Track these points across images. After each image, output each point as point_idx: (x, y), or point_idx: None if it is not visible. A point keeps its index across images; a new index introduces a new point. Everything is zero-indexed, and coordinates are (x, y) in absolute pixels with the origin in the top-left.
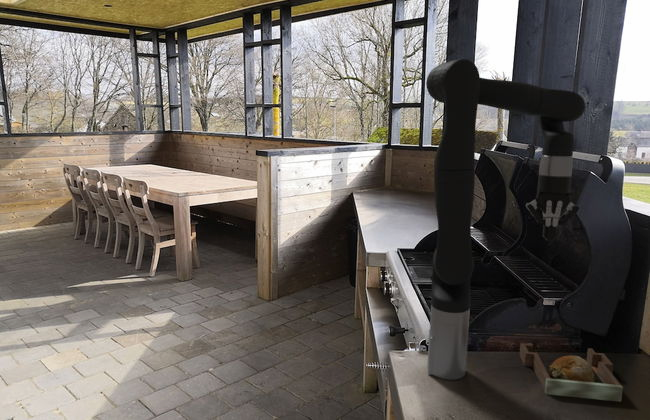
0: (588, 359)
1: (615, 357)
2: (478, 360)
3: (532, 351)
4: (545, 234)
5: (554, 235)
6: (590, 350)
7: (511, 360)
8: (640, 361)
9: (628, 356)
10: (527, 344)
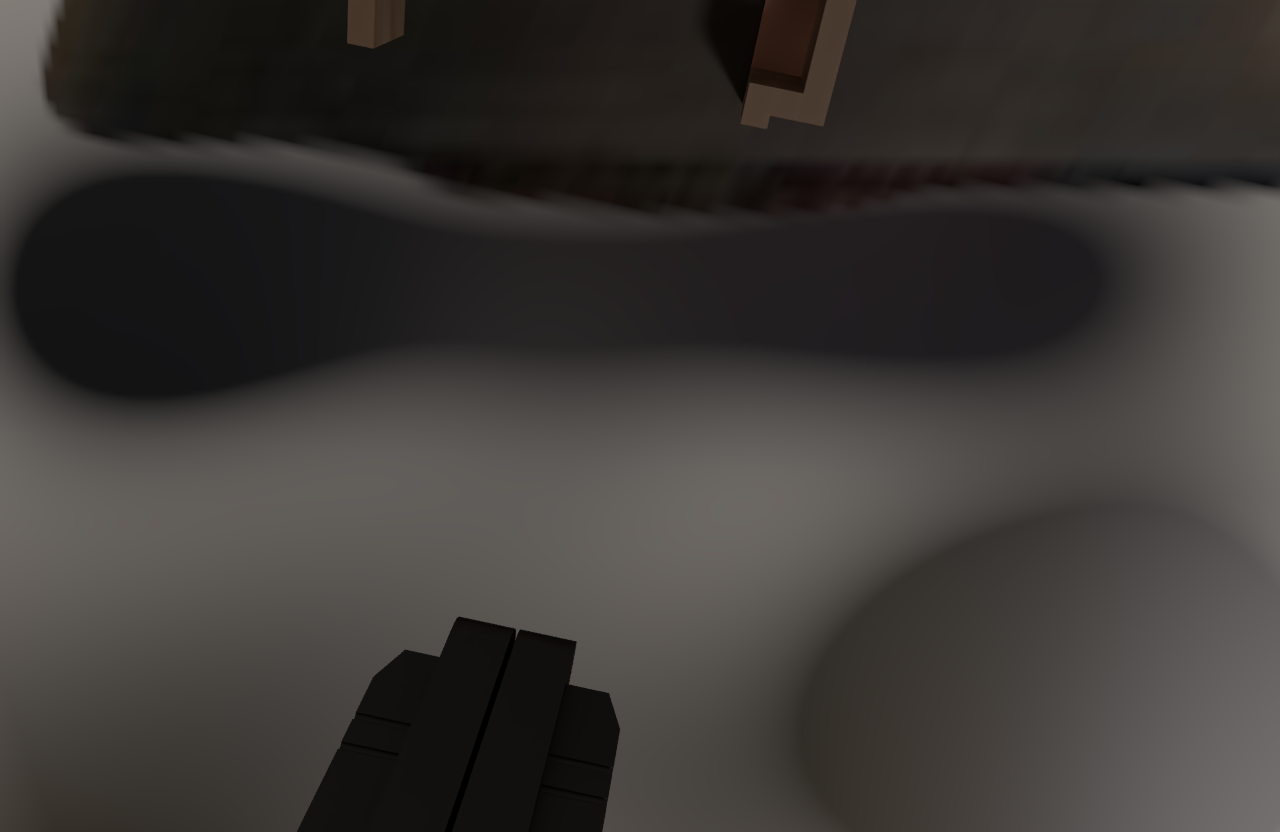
0: (397, 6)
1: (207, 79)
2: (1152, 27)
3: (751, 74)
4: (583, 755)
5: (386, 704)
6: (370, 8)
7: (910, 30)
8: (74, 25)
9: (125, 94)
10: (781, 105)
